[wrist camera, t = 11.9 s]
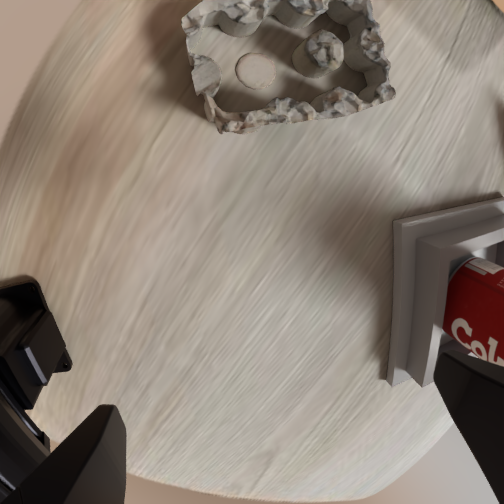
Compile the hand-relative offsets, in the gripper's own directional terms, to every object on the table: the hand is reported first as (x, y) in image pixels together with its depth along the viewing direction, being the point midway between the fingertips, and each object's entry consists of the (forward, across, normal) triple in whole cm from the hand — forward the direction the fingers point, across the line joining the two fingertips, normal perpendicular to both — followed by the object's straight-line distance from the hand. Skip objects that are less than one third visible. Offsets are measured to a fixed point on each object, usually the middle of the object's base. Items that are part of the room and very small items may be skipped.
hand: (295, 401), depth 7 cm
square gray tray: (+13, -18, +5) cm, 23 cm away
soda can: (+12, -18, +5) cm, 22 cm away
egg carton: (+12, -3, -11) cm, 17 cm away
